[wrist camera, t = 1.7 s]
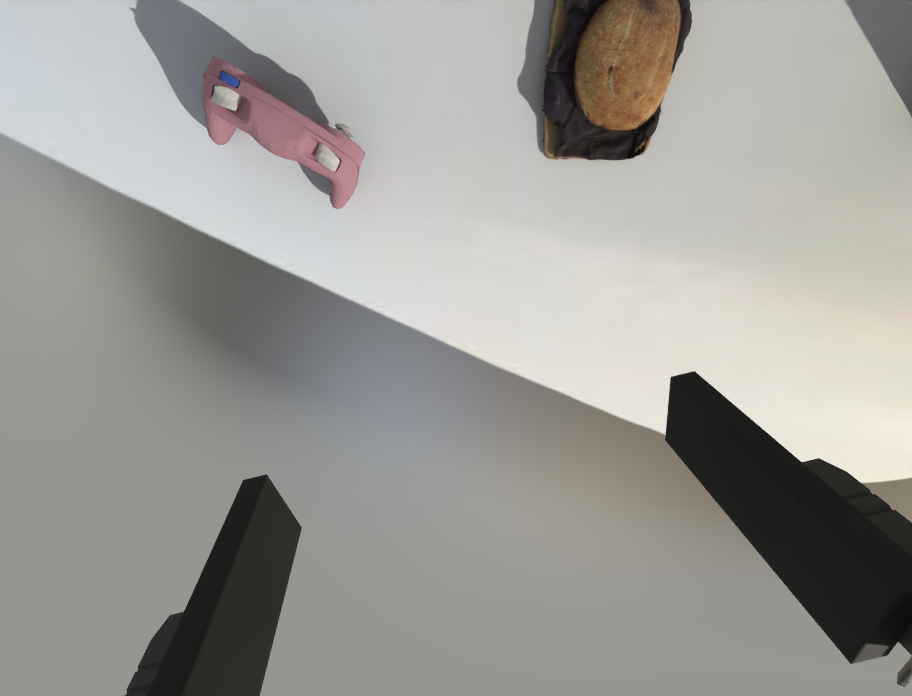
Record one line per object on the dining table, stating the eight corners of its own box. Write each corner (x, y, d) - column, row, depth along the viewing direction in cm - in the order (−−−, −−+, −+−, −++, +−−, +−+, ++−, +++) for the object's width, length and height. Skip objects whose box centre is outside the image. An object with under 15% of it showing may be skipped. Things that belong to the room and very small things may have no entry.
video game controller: (370, 159, 30) (376, 134, 23) (344, 214, 30) (343, 205, 24) (235, 77, 27) (198, 21, 20) (209, 141, 27) (163, 106, 21)
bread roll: (552, -44, 22) (568, -58, 19) (701, -47, 22) (739, -62, 19) (533, 159, 29) (543, 172, 26) (649, 157, 29) (671, 169, 26)
